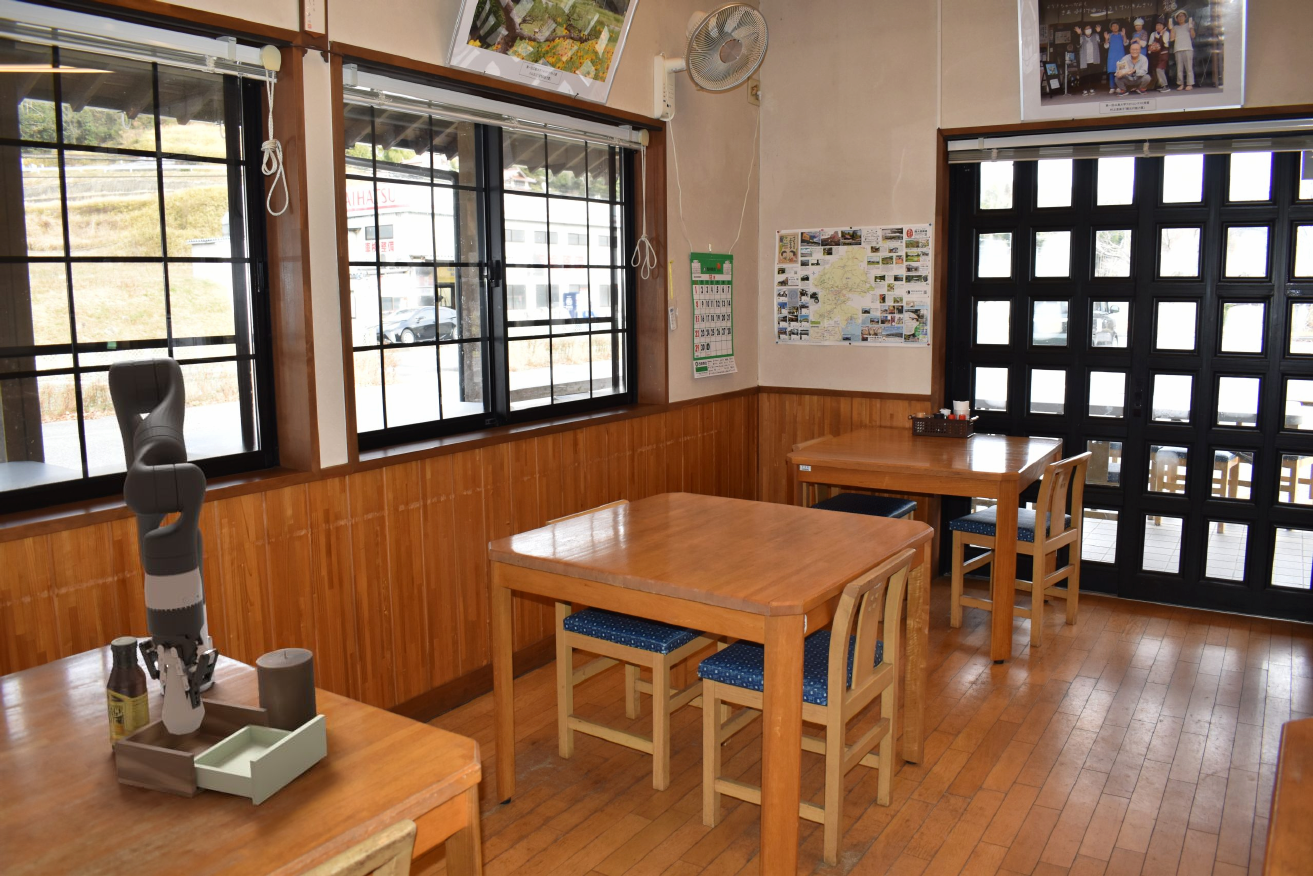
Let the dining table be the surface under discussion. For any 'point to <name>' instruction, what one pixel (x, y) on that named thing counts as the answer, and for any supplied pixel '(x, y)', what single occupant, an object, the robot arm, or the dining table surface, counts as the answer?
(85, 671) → the dining table surface
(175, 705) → the salt shaker
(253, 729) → the drawer
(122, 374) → the robot arm
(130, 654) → the sauce bottle
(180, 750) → the cabinet
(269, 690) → the pillar candle
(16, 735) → the dining table surface
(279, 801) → the dining table surface
